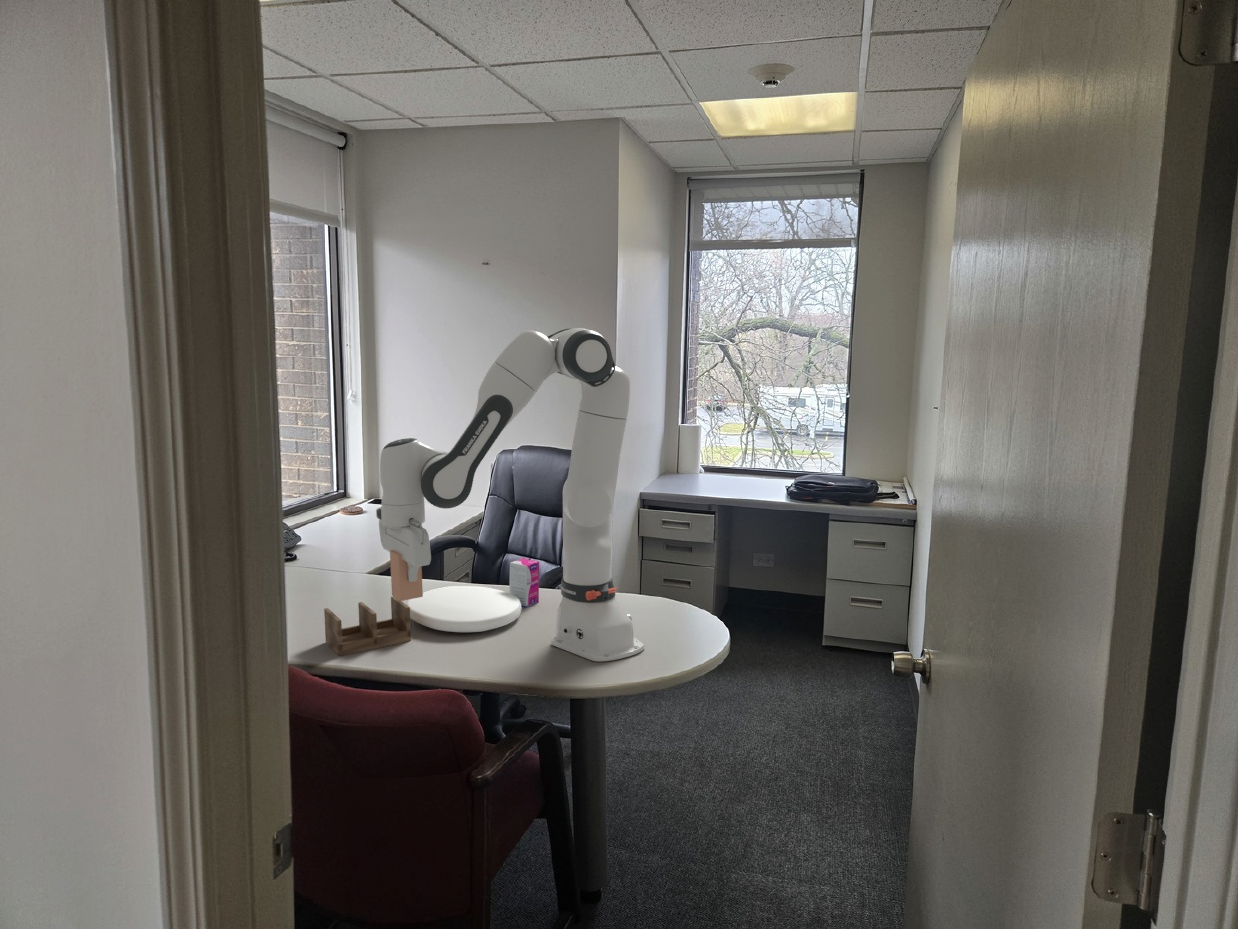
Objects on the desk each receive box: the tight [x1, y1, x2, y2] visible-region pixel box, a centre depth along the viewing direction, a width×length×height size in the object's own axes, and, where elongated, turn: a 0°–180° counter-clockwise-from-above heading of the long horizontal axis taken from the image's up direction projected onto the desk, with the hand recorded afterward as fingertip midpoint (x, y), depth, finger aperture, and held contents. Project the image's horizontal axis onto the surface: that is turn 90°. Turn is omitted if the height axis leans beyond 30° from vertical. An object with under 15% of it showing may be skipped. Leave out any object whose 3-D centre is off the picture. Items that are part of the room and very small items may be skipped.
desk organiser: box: [323, 596, 412, 657], centre depth 187 cm, size 10×16×8 cm, turn 126°
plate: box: [406, 585, 522, 633], centre depth 204 cm, size 28×6×27 cm
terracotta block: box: [389, 550, 424, 602], centre depth 176 cm, size 5×5×10 cm
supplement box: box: [508, 557, 540, 609], centre depth 215 cm, size 6×6×12 cm
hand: (406, 577), depth 176 cm, fingers closed on terracotta block, 5 cm apart
